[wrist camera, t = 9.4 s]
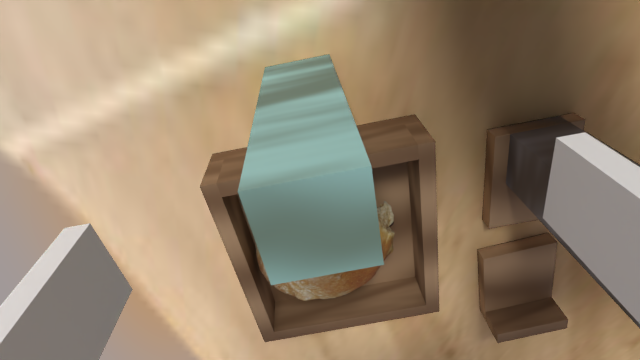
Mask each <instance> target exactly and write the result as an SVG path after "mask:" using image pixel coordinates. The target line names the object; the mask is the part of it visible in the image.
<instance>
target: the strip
mask: <svg viewBox="0 0 640 360" xmlns="http://www.w3.org/2000/svg"><path fill="white" fill-rule="evenodd" d="M556 249H557V241H556V240H555V239H554V238H553V237H552V236H551V235H550V234H549V233H546V234H542V235H537V236H533V237H529V238H524V239H520V240H516V241H512V242H507V243H503V244H499V245H494V246H490V247H486V248H481V249H477V251H478V274H479V296H480V311H481V312H482V314H483V316H484V318H485V320H486V322H487V324H488V326H489V328H490V329H491V331H492V333H493V335H494V337H495V339H496V341H497V343H500V342H504V341H509V340H514V339H518V338H523V337H528V336H532V335H537V334H542V333H546V332H551V331H556V330H560V329H565V328H567V323H568V319H567V317H566V316H565V315H564V313H563V312H562V311H561V309H560V308H559V307H558V305H557V304H556V303H555V301H554V300H553V299H552V287H553V278H554V268H555V259H556Z"/></svg>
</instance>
